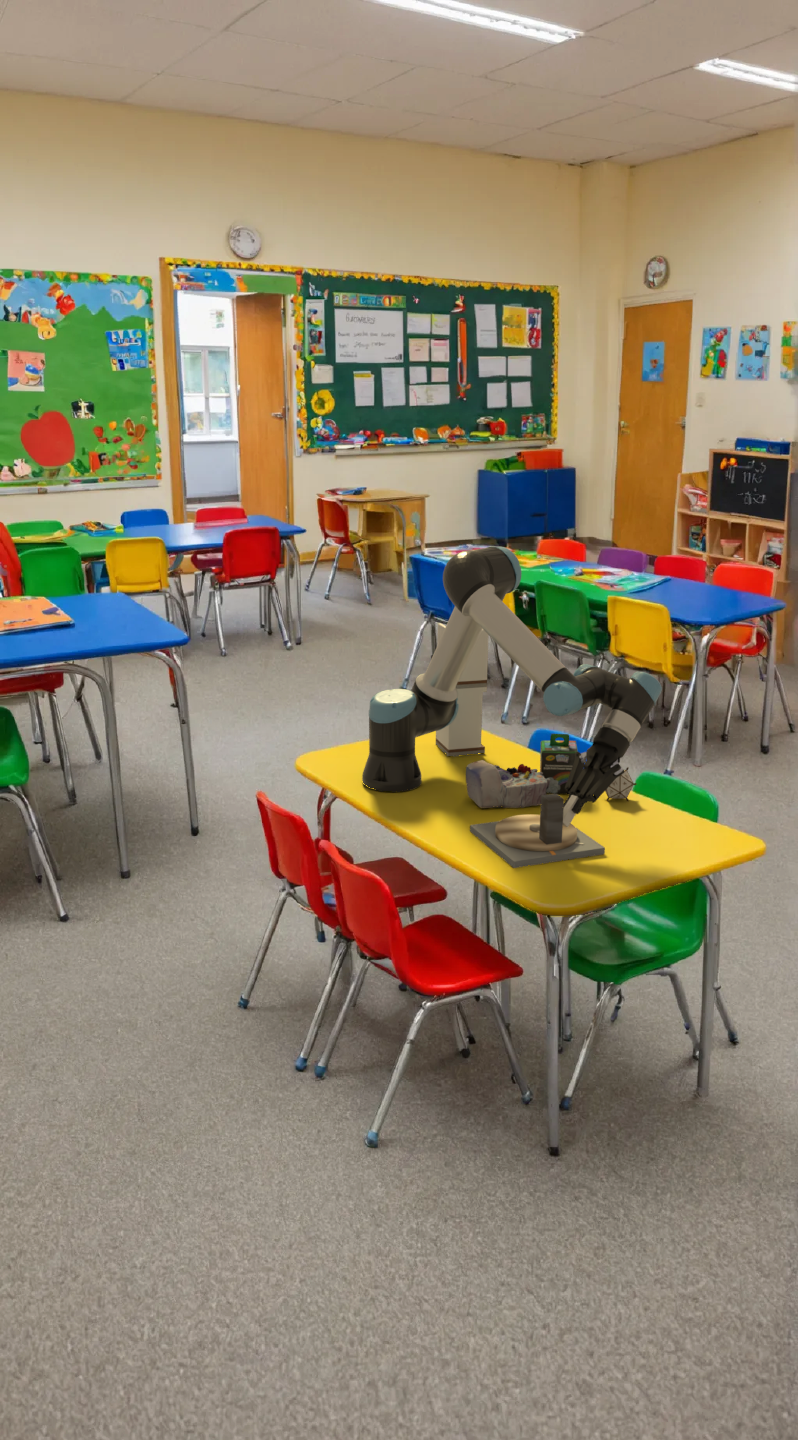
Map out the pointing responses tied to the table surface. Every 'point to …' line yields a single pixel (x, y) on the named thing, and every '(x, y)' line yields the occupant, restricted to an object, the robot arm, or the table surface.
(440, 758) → the table surface
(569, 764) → the chalk box
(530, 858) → the dial base plate
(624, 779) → the game die
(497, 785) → the cell model
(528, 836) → the dial
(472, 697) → the tall cream pedestal vase
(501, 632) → the robot arm
